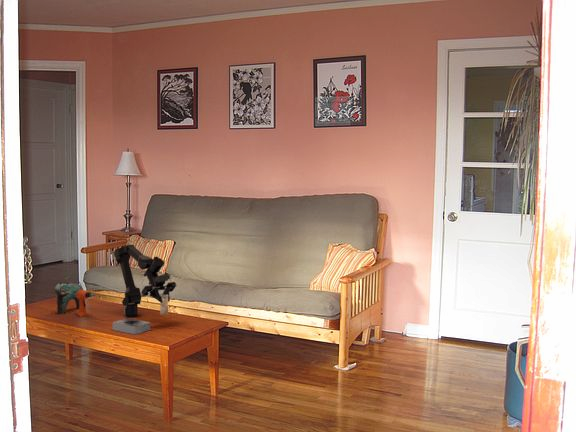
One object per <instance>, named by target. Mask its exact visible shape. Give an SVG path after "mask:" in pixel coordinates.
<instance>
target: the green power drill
mask: <svg viewBox="0 0 576 432" xmlns="http://www.w3.org/2000/svg"><path fill="white" fill-rule="evenodd" d="M67 279H69V280H71V277H70V276H66V277H65V279H64V283H62V282H60V283H57V285H55V288H54V291H55V294H56V296H57V298H56V299H57V300H56V306H57V311H56V312H57V314H58V315H64V314H66V312H67V307H68V304H69V302H70V301H72V300H74V301H75V306H76V307H75V308H76V309H78V310H79V300H78V299H77V296H76V294H77V292H78V291H79V290H80V289H82V290H84V288H83V286H82V284H81V282H80V281H72V282H71V283H69V282H66V280H67Z"/></svg>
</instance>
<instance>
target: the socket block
mask: <svg viewBox="0 0 576 432" xmlns="http://www.w3.org/2000/svg"><path fill="white" fill-rule="evenodd" d="M112 331H115V332H116V331H117V332H121V333H126V334H131V335H140V334H143V333H146V332H148V331H151V322H150V321H145V320H141V319H135V318H131V317H126V318H122V319H120V320H119V319H118V320H116V321H112Z"/></svg>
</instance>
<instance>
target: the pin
mask: <svg viewBox="0 0 576 432" xmlns="http://www.w3.org/2000/svg"><path fill="white" fill-rule="evenodd" d="M160 296H161V298H162V301H163V302H162V303H161V302H160V303H159V305H160V306H159V307H160V308H159V309H160V311H159V314H160V315H161V316H163V315H169V302H168V294H163V293H161V294H160Z"/></svg>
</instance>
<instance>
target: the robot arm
mask: <svg viewBox="0 0 576 432" xmlns="http://www.w3.org/2000/svg"><path fill="white" fill-rule="evenodd" d="M113 256H114V258H115V261H116V262H117V263H118V264H119V265H120V269H121V273H122V277H123V281H124V285H125V292H124V298H123V299H122V301H121V303H122V305H123V306H124V308H123V310H124V311H123V313H124V314H123V315H124V316H125V317H126V318H131V317H139V314H138V313H139V312H138V311H139V310H138V309H139V308H138V305H141V302H142V297H148V296H149V297H152V298H153V299H155V300H157V301H158V302H161V303H162V302H163V301H162V298H161V296H160V295H161V294H160V293H159V292H160V291H162V294H168V303H170V300H171V299H170V293H172V292H173V291H174V290H175V289H176V288H177V283H176V282H175V281H170V282H167V281H169V280H170V279H171V275H170V274H169V273H168V272H167V273H164V274H161V275H160V274H159V272H160V271H161V270H162V269H163V267H164V266H165V261H164V260H163V259H162V258H159V256H157V255H156V256H153V258H152V257H150V256H147V255H144V254H143V253H142V252H141V251H139V249H137V247H136V246H135V245H134V244H125V245H124V246H121V247H119V248H115V250H114V251H113ZM131 258H133V259H134V260H135V261H136V262H137V266H138V267H139V269H140V270H145V271H144V274H143V276H144V277H146V278H147V279H148V285H145V286H143V289H142V290H141V289H140V287H137V286H136V284H135V281H134V276H133V272H132V269H131V265H130V259H131ZM166 282H167V284H166ZM165 284H166V285H165Z"/></svg>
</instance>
